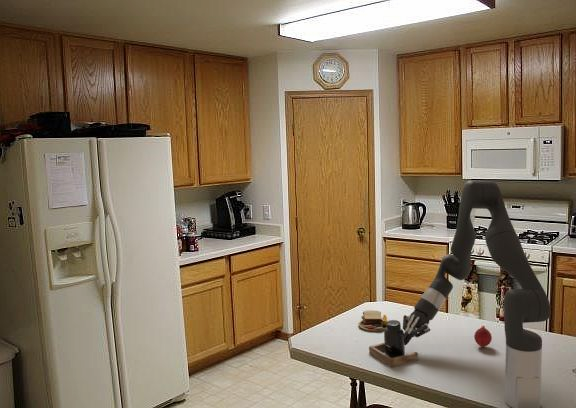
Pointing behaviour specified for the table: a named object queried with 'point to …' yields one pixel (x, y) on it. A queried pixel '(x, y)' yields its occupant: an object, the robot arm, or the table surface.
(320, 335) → the table surface
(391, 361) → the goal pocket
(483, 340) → the onion
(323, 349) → the table surface
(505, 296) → the robot arm
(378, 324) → the toy sandwich meal
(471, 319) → the table surface
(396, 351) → the supplement bottle
